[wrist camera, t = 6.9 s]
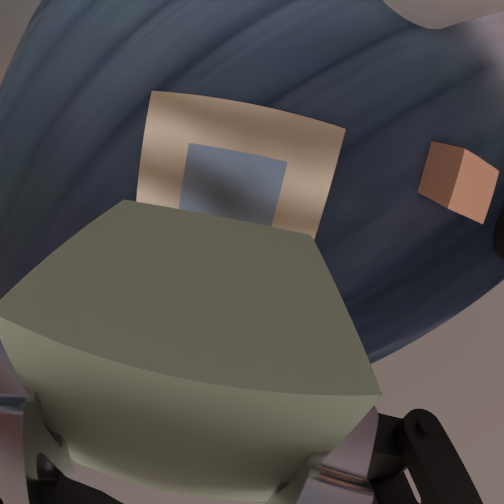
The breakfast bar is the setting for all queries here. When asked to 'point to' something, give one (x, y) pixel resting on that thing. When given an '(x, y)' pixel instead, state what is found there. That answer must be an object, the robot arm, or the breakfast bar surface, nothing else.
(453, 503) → the robot arm
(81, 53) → the breakfast bar surface
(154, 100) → the board
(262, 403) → the sage block
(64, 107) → the breakfast bar surface
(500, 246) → the travel mug
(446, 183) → the terracotta block
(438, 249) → the breakfast bar surface
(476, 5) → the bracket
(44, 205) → the breakfast bar surface
